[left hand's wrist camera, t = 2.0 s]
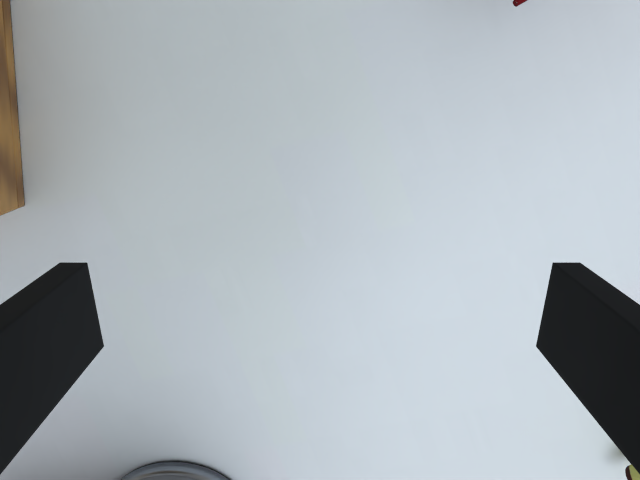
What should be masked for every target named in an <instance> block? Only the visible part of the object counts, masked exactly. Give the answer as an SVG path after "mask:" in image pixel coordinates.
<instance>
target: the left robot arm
mask: <svg viewBox="0 0 640 480" xmlns="http://www.w3.org/2000/svg"><path fill="white" fill-rule="evenodd" d="M103 347H104V345H103V340H102V335H101V330H100V325H99V320H98V315H97V310H96V305H95V300H94V295H93V290H92V285H91V280H90V275H89V269H88V264H87V263H59V264H57V265H56V266H55V267H53V268H52V269H50V270H49V271H48V272H46V273H45V274H43V275H42V276H40V277H39V278H38V279H36V280H35V281H33V282H32V283H31V284H29V285H28V286H26V287H25V288H24V289H22V290H21V291H19V292H18V293H16V294H15V295H14V296H12V297H11V298H9V299H8V300H7V301H5V302H4V303H2V304H1V305H0V474H1V473H2V472H3V470H4V469H5V468H6V467H7V465H8V464H9V463H10V462H11V461H12V459H13V458H14V457H15V456H16V454H17V453H18V452H19V451H20V449H21V448H22V447H23V446H24V444H25V443H26V442H27V441H28V440H29V438H30V437H31V436H32V435H33V433H34V432H35V431H36V430H37V428H38V427H39V426H40V425H41V423H42V422H43V421H44V420H45V418H46V417H47V416H48V415H49V414H50V412H51V411H52V410H53V409H54V407H55V406H56V405H57V404H58V402H59V401H60V400H61V399H62V397H63V396H64V395H65V394H66V393H67V391H68V390H69V389H70V388H71V386H72V385H73V384H74V383H75V381H76V380H77V379H78V378H79V376H80V375H81V374H82V373H83V371H84V370H85V369H86V368H87V367H88V365H89V364H90V363H91V362H92V360H93V359H94V358H95V357H96V355H97V354H98V353H99V352H100V350H101V349H102V348H103ZM536 347H537V348H538V349H539V350H540V352H541V353H542V354H543V355H544V357H545V358H546V359H547V360H548V362H549V363H550V364H551V365H552V367H553V368H554V369H555V370H556V371H557V373H558V374H559V375H560V376H561V378H562V379H563V380H564V381H565V383H566V384H567V385H568V386H569V388H570V389H571V390H572V391H573V393H574V394H575V395H576V396H577V397H578V399H579V400H580V401H581V402H582V404H583V405H584V406H585V407H586V409H587V410H588V411H589V412H590V414H591V415H592V416H593V417H594V418H595V420H596V421H597V422H598V423H599V425H600V426H601V427H602V428H603V430H604V431H605V432H606V433H607V435H608V436H609V437H610V438H611V440H612V441H613V442H614V443H615V444H616V446H617V447H618V448H619V449H620V451H621V452H622V453H623V454H624V456H625V457H626V458H627V459H628V461H629V462H630V463H631V464H632V465H633V467H634V468H635V469H636V470H637V472H638V473H639V474H640V305H639V304H638V303H636V302H635V301H633V300H632V299H631V298H629V297H628V296H626V295H625V294H624V293H622V292H621V291H619V290H618V289H616V288H615V287H614V286H612V285H611V284H609V283H608V282H607V281H605V280H604V279H602V278H601V277H600V276H598V275H597V274H595V273H594V272H592V271H591V270H590V269H588V268H587V267H585V266H584V265H583V264H581V263H553V264H552V269H551V274H550V280H549V285H548V290H547V295H546V300H545V305H544V310H543V315H542V320H541V325H540V330H539V335H538V340H537V345H536Z"/></svg>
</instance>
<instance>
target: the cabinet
mask: <svg viewBox="0 0 640 480" xmlns="http://www.w3.org/2000/svg"><path fill="white" fill-rule="evenodd" d="M23 206H24V191H23V178H22V164H21V150H20V136H19V122H18V109H17V95H16V81H15V67H14V53H13V40H12V26H11V12H10V0H0V216H1V215H3V214H5V213H8V212H10V211H13V210H15V209H17V208H20V207H23Z"/></svg>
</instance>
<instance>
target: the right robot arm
mask: <svg viewBox="0 0 640 480" xmlns="http://www.w3.org/2000/svg"><path fill="white" fill-rule="evenodd" d="M121 480H229V479H227V478H226V477H224V476H223V475H221V474H219V473H217V472H215V471H213V470H211V469H208V468H206V467H203V466H199V465H195V464H190V463H183V462H162V463H155V464H151V465H147V466H144V467H141V468H139V469H137V470H134V471H132V472H131V473H129V474H128V475H126V476H125V477H124V478H122V479H121Z"/></svg>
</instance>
